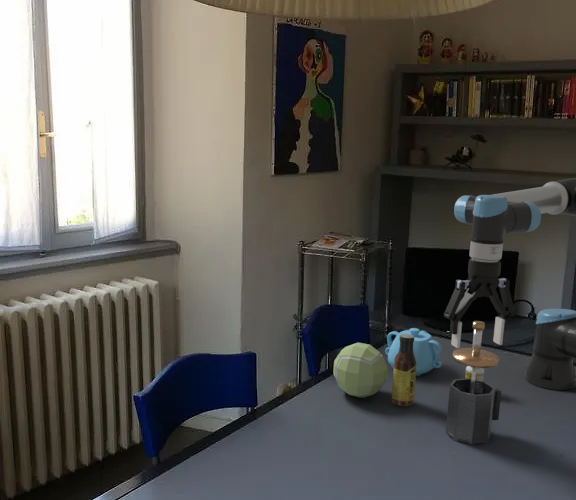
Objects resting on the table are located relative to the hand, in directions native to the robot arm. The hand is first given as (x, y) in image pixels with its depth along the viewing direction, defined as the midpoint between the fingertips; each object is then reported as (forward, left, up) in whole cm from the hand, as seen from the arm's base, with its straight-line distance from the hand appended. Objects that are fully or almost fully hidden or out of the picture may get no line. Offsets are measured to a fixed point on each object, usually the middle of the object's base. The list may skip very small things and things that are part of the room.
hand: (476, 344), depth 158 cm
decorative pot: (-7, -44, -24) cm, 51 cm away
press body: (-1, 0, -24) cm, 24 cm away
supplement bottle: (-17, -24, -24) cm, 38 cm away
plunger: (0, 0, -15) cm, 15 cm away
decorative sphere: (+18, -29, -24) cm, 42 cm away
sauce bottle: (+8, -21, -24) cm, 33 cm away
